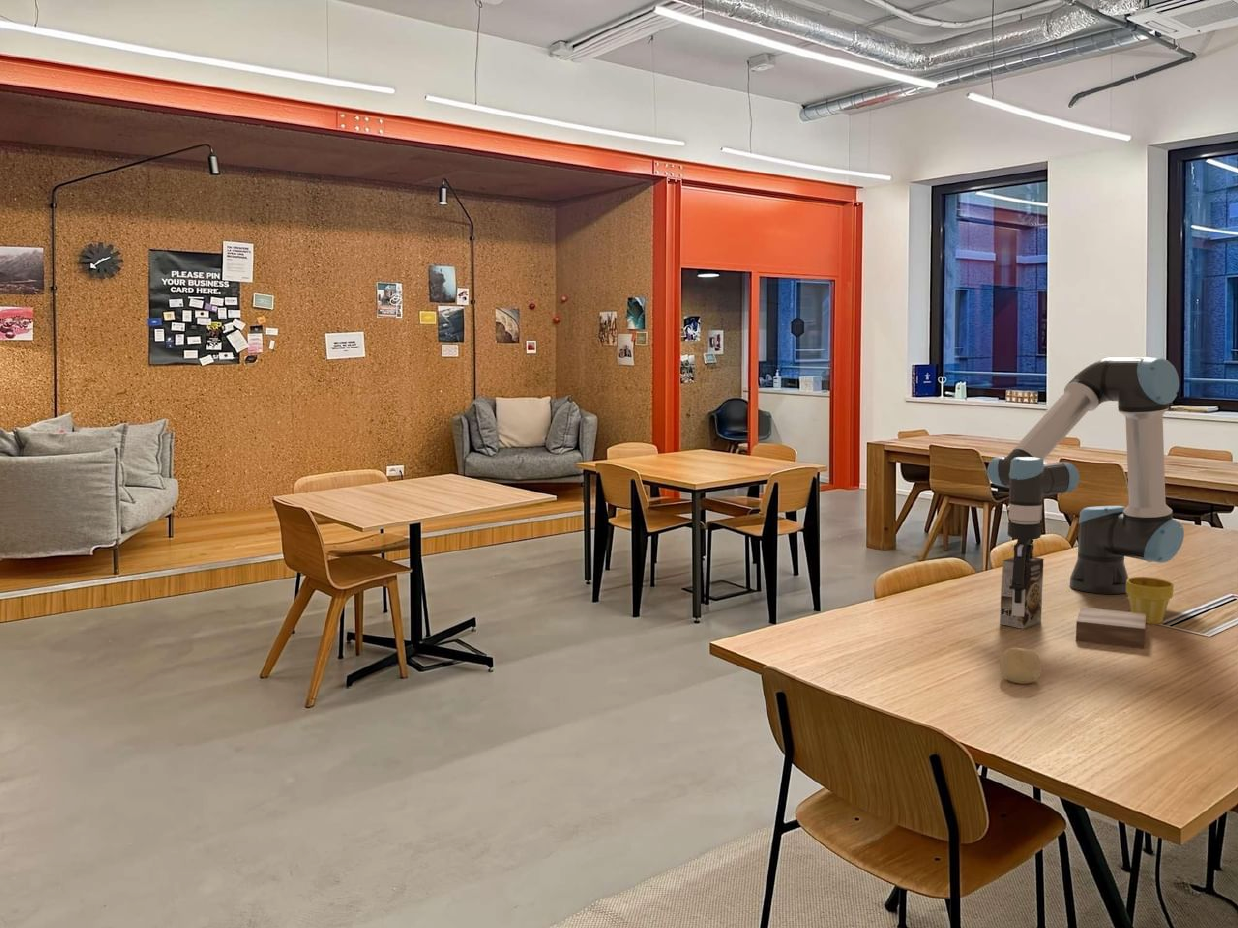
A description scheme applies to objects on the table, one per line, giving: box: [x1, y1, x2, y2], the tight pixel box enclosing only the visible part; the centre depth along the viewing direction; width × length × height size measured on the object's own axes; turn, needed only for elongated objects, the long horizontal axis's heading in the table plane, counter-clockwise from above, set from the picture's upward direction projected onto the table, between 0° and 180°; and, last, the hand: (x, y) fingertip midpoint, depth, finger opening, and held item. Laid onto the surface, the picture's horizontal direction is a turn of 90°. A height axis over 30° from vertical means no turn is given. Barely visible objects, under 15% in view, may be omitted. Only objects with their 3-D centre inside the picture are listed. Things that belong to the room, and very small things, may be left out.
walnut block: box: [1075, 606, 1147, 650], centre depth 232 cm, size 14×14×5 cm
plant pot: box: [1125, 576, 1174, 625], centre depth 244 cm, size 10×10×10 cm
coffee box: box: [999, 556, 1045, 630], centre depth 243 cm, size 9×6×16 cm
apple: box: [999, 647, 1043, 685], centre depth 202 cm, size 8×8×8 cm
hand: (1021, 610), depth 243 cm, fingers closed on coffee box, 10 cm apart
